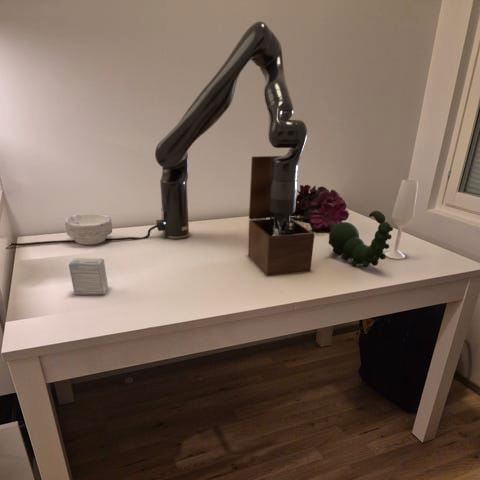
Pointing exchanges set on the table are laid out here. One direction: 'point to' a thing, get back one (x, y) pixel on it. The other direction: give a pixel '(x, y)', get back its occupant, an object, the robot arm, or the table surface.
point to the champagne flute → (403, 212)
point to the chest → (280, 248)
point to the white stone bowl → (88, 228)
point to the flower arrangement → (320, 208)
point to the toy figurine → (360, 242)
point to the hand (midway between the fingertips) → (279, 250)
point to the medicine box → (88, 276)
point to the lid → (261, 186)
